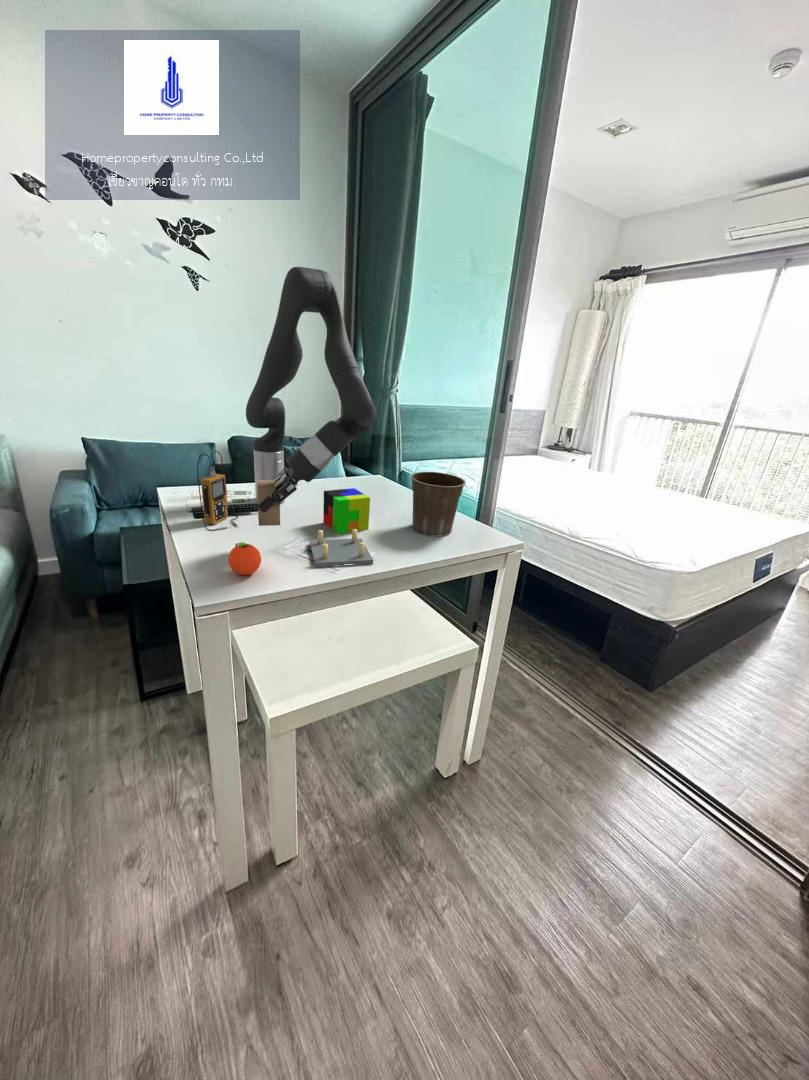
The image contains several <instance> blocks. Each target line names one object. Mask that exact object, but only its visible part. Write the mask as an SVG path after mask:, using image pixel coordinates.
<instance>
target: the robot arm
mask: <svg viewBox="0 0 809 1080" xmlns="http://www.w3.org/2000/svg"><path fill="white" fill-rule="evenodd" d="M278 305H279V306H278V310H277V315H276V319H275V321H274V326H273V330H272V333H271V335H270V339H269V342H268V345H267V347H266V350H265V353H264V357H263V361H262V364H261V368H260V371H259V374H258V377H257V380H256V382H255V385H254V387H253V389H252V391H251V393H250V395H249V398H248V400H247V404H246V407H245V418H246V423H247V424H248V425H249V426H250V427H252V428H255V429H268V431H267V432H266V433H265V434H263V435H262V436H260V437H257V438H256V439H254V440H253V444H252V446H253V467H254V488H255V489H254V490H255V502H256V501H257V502H258V493H257V480H274V481H278V480H279V481H278V483H277V484H276V485H275V487H274V488H275V490H274V491H273V492H271V493H270V494H269V496H268V497H267V498H266V499H265V500H264V501H263V502H261V503H260V504H259V505H258V504H257V509H258V508H259V509H260V510H261V511H262V512H264V513H265V512H266V511H268V510H269V509H270V508H271V507H272V506H273V505H274V504H275V502H276V503H278V504H280V505H281V504H283V503H284V502H285V500H286V499H287V498H288V497H290V496H291V495H292V494H293V493H295V492H296V491H297V489H298V488H297V487H298V485H299V484H298V483H299V482H300V481H301V480H304V481H305V482H307V483H310V482H311V481H312V480H314V478H315V477H317V476H318V475H319V474H320V473H321V472H322V471H323V470H324V469H325V468H326V467H327V466H328V465H329V464H331V462H332V461H333V460H334V458H335V457H336V456H338V455H339V454H340V453H341V452H342V451H343V450H344V449H345V448H346V447H347V446H348V444H350V443H351V442H353V441H355V440H357V438H359V437H361V436H362V435H364V434H365V433H366V432H367V431H369V429H371V428H372V427H373V426H374V425H375V423H376V421H377V417H378V411H377V408H376V405H375V404H374V401H373V399H372V397H371V395H370V393H369V390H368V388H367V386H366V384H365V382H364V378H363V375H362V372H361V369H360V366H359V364H358V362H357V359H356V357H355V355H354V352H353V349H352V347H351V344H350V341H349V337H348V333H347V329H346V325H345V319H344V317H343V313H342V312H343V311H342V309H341V304H340V300H339V296H338V293H337V289H336V286H335V284H334V281H333V278H332V277H331V275H330V274H329V273H328V272H326V271H325V270H322V269H320V268H319V269H317V268H310V267H303V266H293V267H291V268H290V269H289V270H288V271H287V273H286V275H285V278H284V282H283V285H282V289H281V295H280V299H279V304H278ZM304 313H313V314H314V313H316V314H317V313H318V314H319V315H320V316H321V317H322V319H323V322H324V324H325V329H326V338H325V343H324V360H325V361H324V362H325V365H326V367H327V370H328V372H329V375H330V377H331V380H332V383H333V384H334V387H335V388H336V390H337V393H338V397H339V400H340V403H341V406H342V409H343V411H344V414H343V415H341V416H340V417H339V418H338V419H336V420H329V421H328V422H326V423H325V424H324V425H323V426H322V427H321V428H319V430H318V431H317V432H316V433H314V434H313V435H312V436H310V437H309V438H308V439H306V441H305V442H303V443H302V444H301V445H300V446H299V447H298V448H297V449H296V450H295V451H294V452H293V453H292V454H291V455H290V456H288V458H287V459H286V462H287V464H288V467H289V468H287V467H285V457H284V456H285V454H284V452H285V451H284V445H285V439H286V437H285V435H286V429H285V428H286V409H285V405H284V402H283V401H282V399H280V398H279V397H274V396H275V395H276V394H277V393H278V392H279V391H281V390H282V389H284V388H285V387H287V385H289V384H290V383H291V382H293V380H294V379H295V377H296V375H297V373H298V371H299V368H300V365H301V363H302V359H303V347H302V343H301V341H300V338H299V335H298V331H297V330H298V329H297V328H298V325H299V321H300V319H301V315H302V314H304ZM279 487H280V488H279ZM279 493H280V496H279V497H278V496H277V494H279ZM257 502H256V503H257Z"/></svg>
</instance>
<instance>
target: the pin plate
mask: <svg viewBox="0 0 809 1080" xmlns="http://www.w3.org/2000/svg"><path fill="white" fill-rule="evenodd" d="M308 541H309V542H308V543H310V545H309V547H310V546H311V549H310V551H311V550H312V552H311V555H312V554H313V556H312V559H314V560H313V563H314V567H315V568H329V567H328V566H333V567H337V566H336V565H344V564H358V565H357V566H363V565H364V566H365V565H367V566H368V565H374V559H373V556H372V555H371V553H370V552H369V550H368V548H367V546H366V544H365V542H364V540H363V539H362V538H358V531H357V529H352V532H351V538H334V539H324V530H322V529H317V539H311V540H308ZM334 565H335V566H334Z"/></svg>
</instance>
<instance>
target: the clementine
mask: <svg viewBox="0 0 809 1080" xmlns="http://www.w3.org/2000/svg"><path fill="white" fill-rule="evenodd" d="M227 558H228V559H227V560H228V566H229V568H230V569H231V571H233V572H234V573H235V574H238V575H242V576H247V575H252V574H254V573H255V572H256V571H257V570H258V569H259V568H260V566H261V563H262V555H261V552H260V550H259V549H258V548H256V546H254V545H253V544H250V543H246V542H237V543H236V544H235V546H234V547H233V548H232V549H231V550H230V551H229V554H228V557H227Z"/></svg>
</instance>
